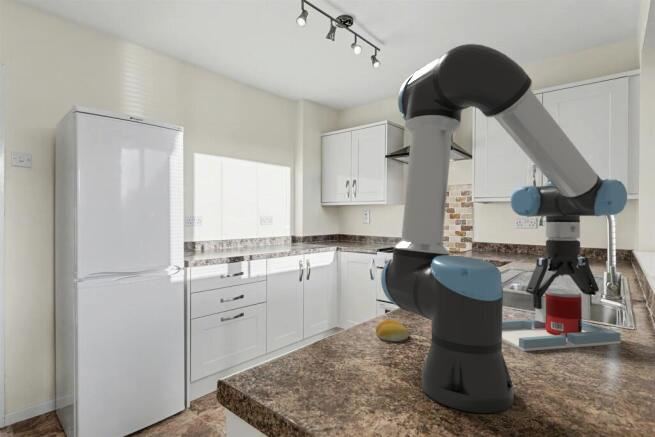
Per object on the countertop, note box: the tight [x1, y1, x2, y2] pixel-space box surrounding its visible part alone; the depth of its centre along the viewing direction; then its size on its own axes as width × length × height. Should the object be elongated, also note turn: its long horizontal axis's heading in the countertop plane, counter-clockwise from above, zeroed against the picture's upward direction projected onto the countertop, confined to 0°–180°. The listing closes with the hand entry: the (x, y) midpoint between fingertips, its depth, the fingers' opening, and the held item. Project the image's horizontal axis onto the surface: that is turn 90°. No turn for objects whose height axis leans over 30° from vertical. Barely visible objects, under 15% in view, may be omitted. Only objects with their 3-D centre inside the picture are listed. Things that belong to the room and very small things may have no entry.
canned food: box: [544, 288, 583, 338], centre depth 92 cm, size 8×8×11 cm
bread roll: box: [375, 319, 409, 342], centre depth 91 cm, size 8×9×4 cm
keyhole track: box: [502, 318, 622, 352], centre depth 91 cm, size 28×15×3 cm, turn 101°
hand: (562, 319), depth 92 cm, fingers open, 13 cm apart
